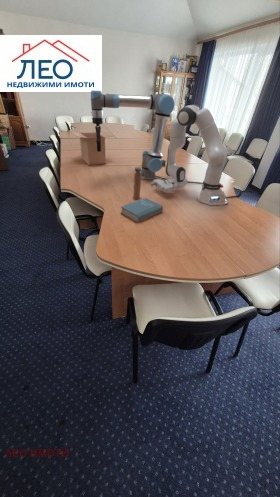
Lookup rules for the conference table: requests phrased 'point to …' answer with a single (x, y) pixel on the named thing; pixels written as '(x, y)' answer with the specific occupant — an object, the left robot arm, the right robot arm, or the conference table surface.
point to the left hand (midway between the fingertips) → (99, 149)
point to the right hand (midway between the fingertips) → (153, 186)
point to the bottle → (137, 185)
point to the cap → (138, 169)
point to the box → (92, 147)
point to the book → (141, 209)
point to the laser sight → (163, 162)
